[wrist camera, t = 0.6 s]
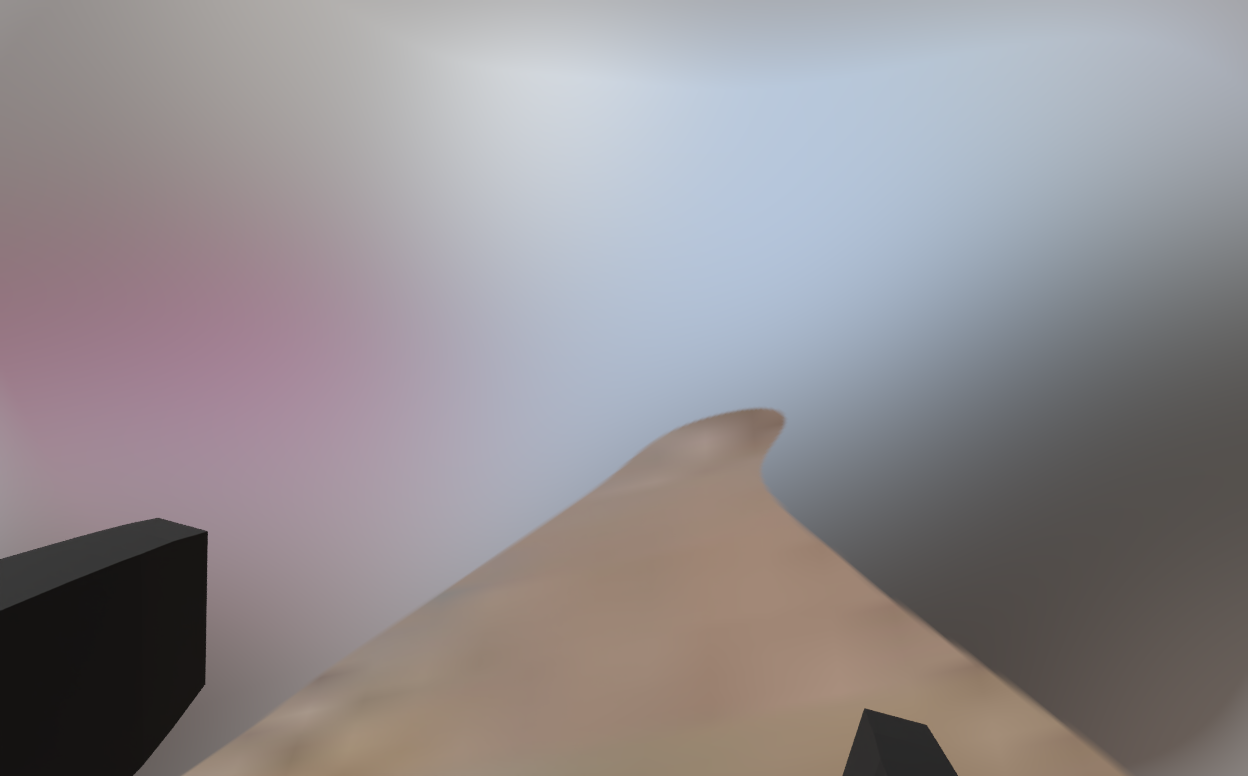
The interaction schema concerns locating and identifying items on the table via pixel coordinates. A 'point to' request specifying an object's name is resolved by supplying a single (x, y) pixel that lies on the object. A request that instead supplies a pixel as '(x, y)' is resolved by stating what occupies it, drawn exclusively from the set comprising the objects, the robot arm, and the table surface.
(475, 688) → the table surface
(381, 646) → the table surface
